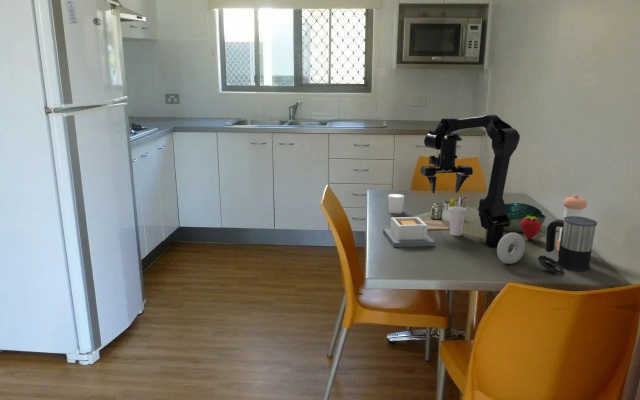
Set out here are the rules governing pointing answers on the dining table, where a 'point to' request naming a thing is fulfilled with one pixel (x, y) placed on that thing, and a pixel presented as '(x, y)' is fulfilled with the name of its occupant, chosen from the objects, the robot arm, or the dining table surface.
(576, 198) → the pepper shaker
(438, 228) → the coaster
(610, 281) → the dining table surface
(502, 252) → the donut
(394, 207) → the shot glass
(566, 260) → the milk frother
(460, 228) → the smoothie
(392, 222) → the white open box
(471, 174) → the robot arm
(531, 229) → the strawberry
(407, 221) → the button
